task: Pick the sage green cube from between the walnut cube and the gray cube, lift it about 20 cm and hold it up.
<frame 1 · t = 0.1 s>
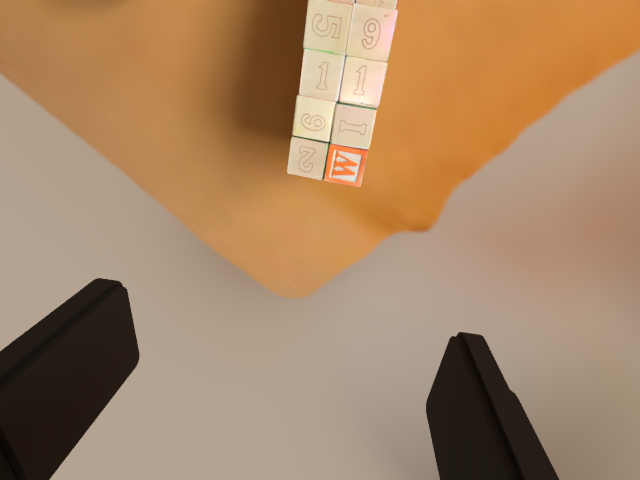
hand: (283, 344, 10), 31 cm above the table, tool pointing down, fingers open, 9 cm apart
stack of blocks: (351, 47, 33), on the table
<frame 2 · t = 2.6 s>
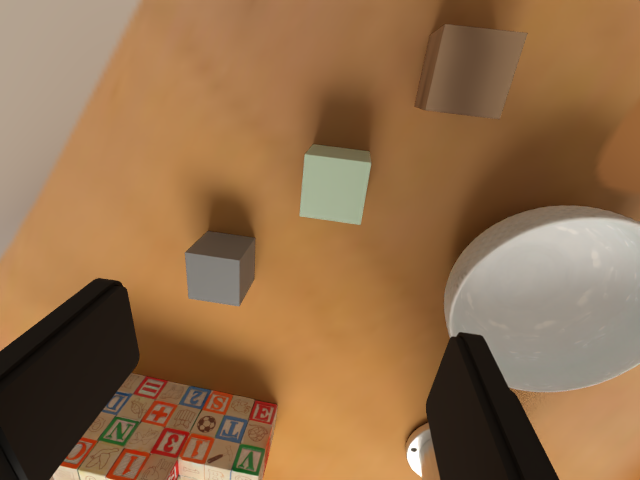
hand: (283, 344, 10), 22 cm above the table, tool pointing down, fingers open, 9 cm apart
gray cube: (231, 255, 35), on the table
walnut cube: (453, 76, 26), on the table
stack of blocks: (201, 400, 46), on the table
sage green cube: (337, 175, 30), on the table
cereal bowl: (520, 270, 32), on the table
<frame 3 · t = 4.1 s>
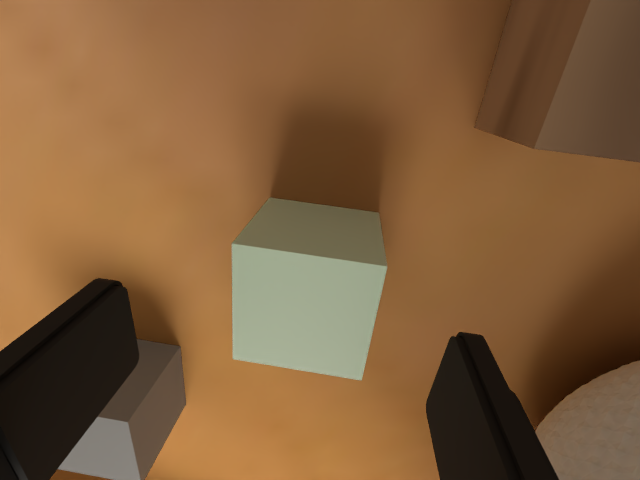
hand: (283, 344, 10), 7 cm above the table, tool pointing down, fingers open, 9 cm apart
gray cube: (145, 368, 21), on the table
walnut cube: (566, 63, 12), on the table
sage green cube: (318, 252, 16), on the table
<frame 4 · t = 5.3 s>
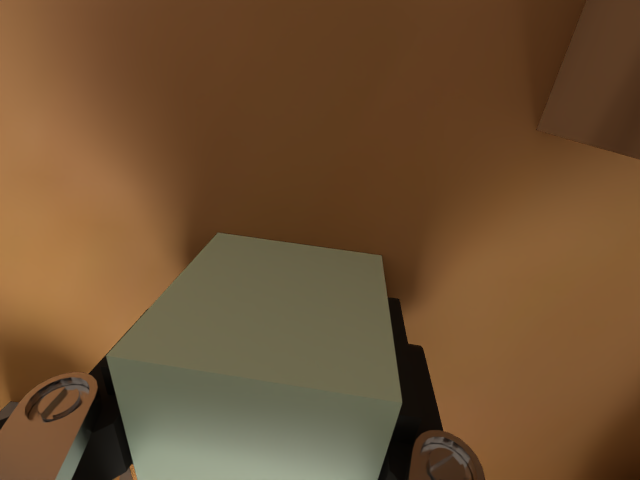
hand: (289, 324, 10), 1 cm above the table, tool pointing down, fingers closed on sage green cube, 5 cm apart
sage green cube: (293, 309, 11), on the table, touching gripper
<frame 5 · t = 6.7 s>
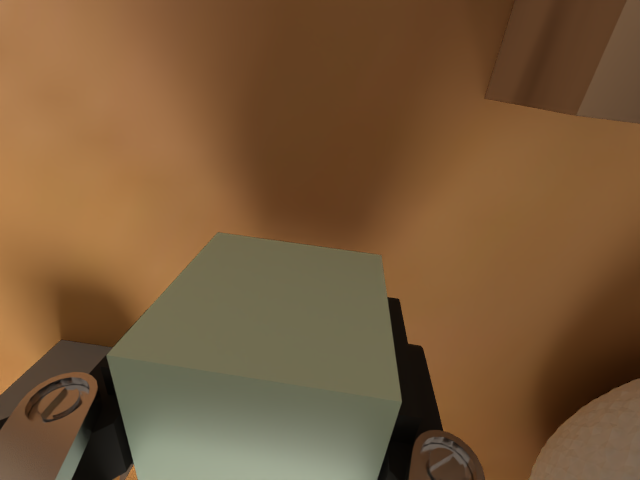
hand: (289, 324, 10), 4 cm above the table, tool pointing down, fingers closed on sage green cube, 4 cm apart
gray cube: (115, 377, 19), on the table
walnut cube: (599, 15, 9), on the table
sage green cube: (293, 309, 11), point 3 cm above the table, touching gripper
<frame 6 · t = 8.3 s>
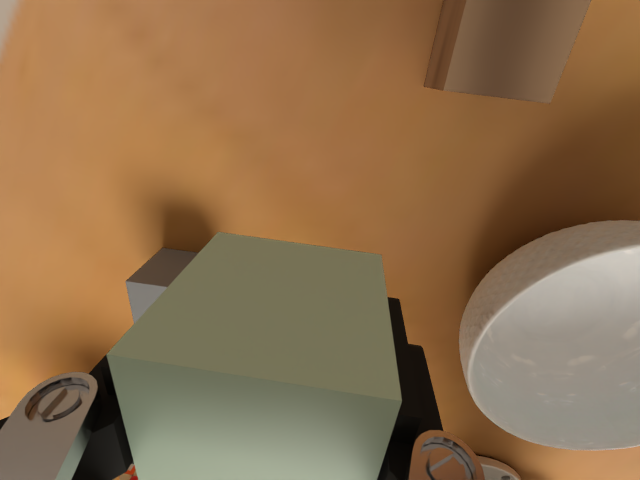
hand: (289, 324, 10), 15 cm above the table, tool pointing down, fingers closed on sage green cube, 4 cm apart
gray cube: (194, 276, 28), on the table
walnut cube: (478, 44, 19), on the table
sage green cube: (293, 309, 11), point 14 cm above the table, touching gripper
cereal bowl: (552, 294, 26), on the table
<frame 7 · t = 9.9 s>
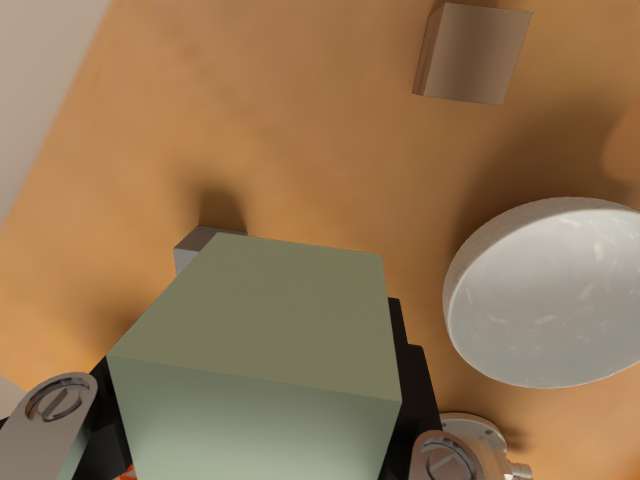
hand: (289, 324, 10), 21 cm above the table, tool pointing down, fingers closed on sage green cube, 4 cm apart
gray cube: (223, 250, 34), on the table
walnut cube: (453, 60, 24), on the table
sage green cube: (293, 309, 11), point 20 cm above the table, touching gripper
cereal bowl: (521, 264, 31), on the table
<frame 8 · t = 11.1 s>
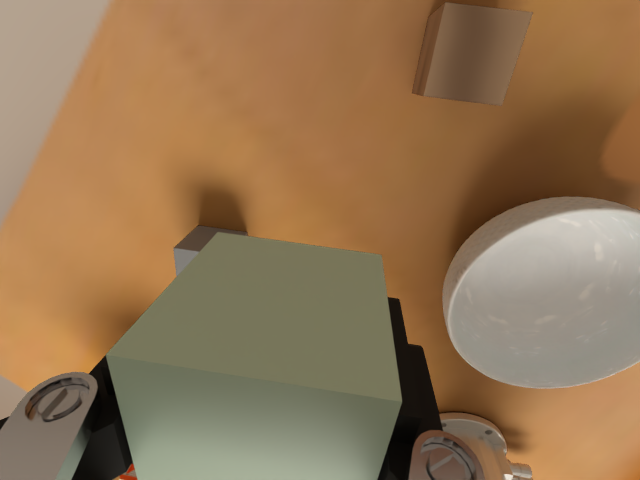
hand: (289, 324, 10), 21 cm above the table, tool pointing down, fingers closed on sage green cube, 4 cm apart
gray cube: (223, 250, 34), on the table
walnut cube: (453, 60, 24), on the table
sage green cube: (293, 309, 11), point 20 cm above the table, touching gripper
cereal bowl: (521, 264, 31), on the table
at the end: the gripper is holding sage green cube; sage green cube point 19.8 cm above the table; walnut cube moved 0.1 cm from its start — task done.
